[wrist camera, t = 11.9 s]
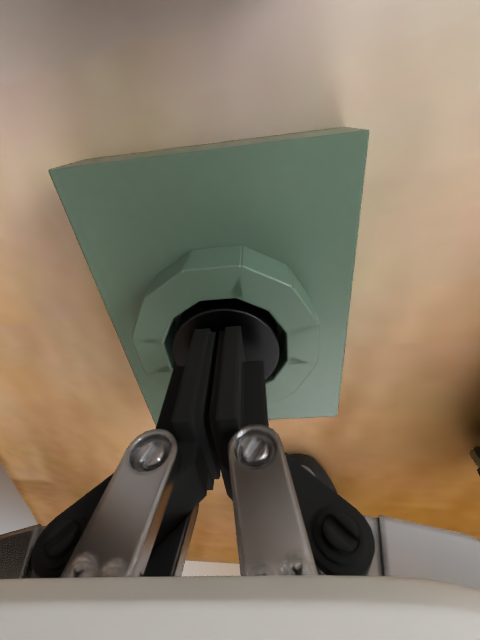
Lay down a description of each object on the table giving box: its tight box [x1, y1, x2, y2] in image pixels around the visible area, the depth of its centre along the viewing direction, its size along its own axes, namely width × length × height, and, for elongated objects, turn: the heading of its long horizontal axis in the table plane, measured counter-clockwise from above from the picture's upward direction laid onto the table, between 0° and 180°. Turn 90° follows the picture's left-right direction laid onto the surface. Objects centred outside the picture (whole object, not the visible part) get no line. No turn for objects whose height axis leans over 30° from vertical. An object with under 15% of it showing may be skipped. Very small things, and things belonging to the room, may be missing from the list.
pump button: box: [172, 298, 280, 379], centre depth 12 cm, size 4×4×2 cm
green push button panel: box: [48, 127, 369, 425], centre depth 13 cm, size 13×10×4 cm
